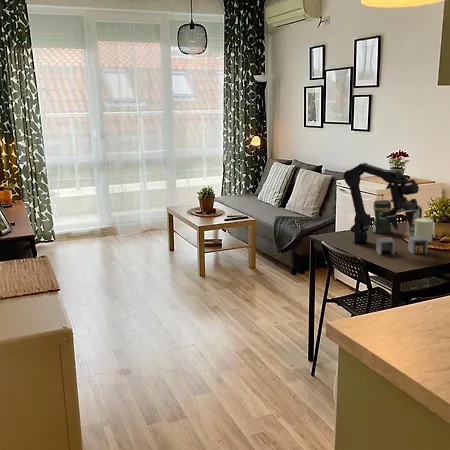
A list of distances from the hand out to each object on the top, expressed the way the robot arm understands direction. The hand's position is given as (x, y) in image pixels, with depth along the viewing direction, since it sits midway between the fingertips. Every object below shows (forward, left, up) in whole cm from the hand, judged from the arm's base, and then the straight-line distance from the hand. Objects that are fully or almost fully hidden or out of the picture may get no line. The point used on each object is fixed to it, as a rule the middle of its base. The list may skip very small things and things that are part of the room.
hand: (403, 227), depth 252 cm
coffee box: (+15, +30, -13) cm, 36 cm away
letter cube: (+7, -1, -13) cm, 15 cm away
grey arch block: (+7, 0, -13) cm, 14 cm away
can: (+16, +18, -13) cm, 27 cm away
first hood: (-9, 0, -13) cm, 15 cm away
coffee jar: (0, +39, -13) cm, 41 cm away
